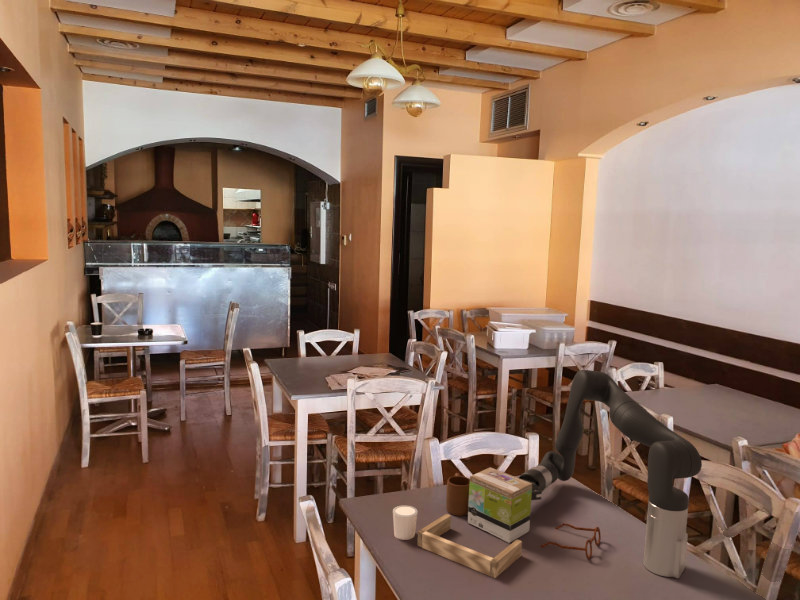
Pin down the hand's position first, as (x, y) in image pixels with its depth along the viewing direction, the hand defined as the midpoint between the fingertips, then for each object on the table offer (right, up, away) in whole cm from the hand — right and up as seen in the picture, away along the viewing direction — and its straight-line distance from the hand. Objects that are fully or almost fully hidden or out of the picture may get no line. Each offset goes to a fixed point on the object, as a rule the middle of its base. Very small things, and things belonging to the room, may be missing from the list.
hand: (508, 498), depth 182 cm
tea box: (-3, -8, -3) cm, 9 cm away
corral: (-13, -9, -16) cm, 22 cm away
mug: (-14, -6, +9) cm, 18 cm away
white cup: (-30, -7, -8) cm, 32 cm away
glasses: (+15, -10, -10) cm, 21 cm away
